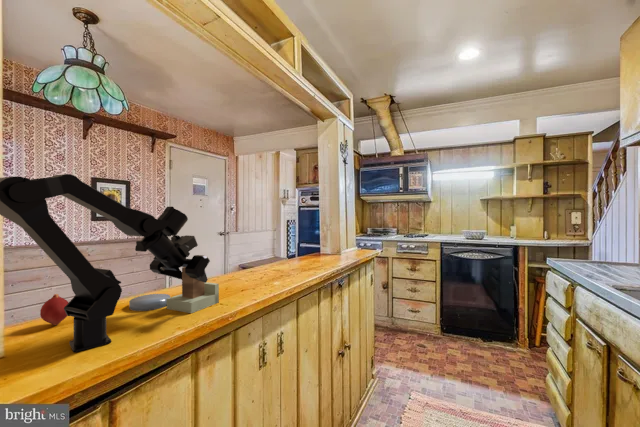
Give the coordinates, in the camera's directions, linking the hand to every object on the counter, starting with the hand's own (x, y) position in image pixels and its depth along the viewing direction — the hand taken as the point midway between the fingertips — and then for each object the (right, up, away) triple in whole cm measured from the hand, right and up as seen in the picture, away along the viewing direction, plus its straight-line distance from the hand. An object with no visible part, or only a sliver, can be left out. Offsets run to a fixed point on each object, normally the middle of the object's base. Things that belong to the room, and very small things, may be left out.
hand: (195, 279), depth 92 cm
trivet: (-14, -8, 0) cm, 16 cm away
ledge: (0, -8, -1) cm, 8 cm away
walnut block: (0, -5, -1) cm, 5 cm away
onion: (-29, -8, -16) cm, 34 cm away
